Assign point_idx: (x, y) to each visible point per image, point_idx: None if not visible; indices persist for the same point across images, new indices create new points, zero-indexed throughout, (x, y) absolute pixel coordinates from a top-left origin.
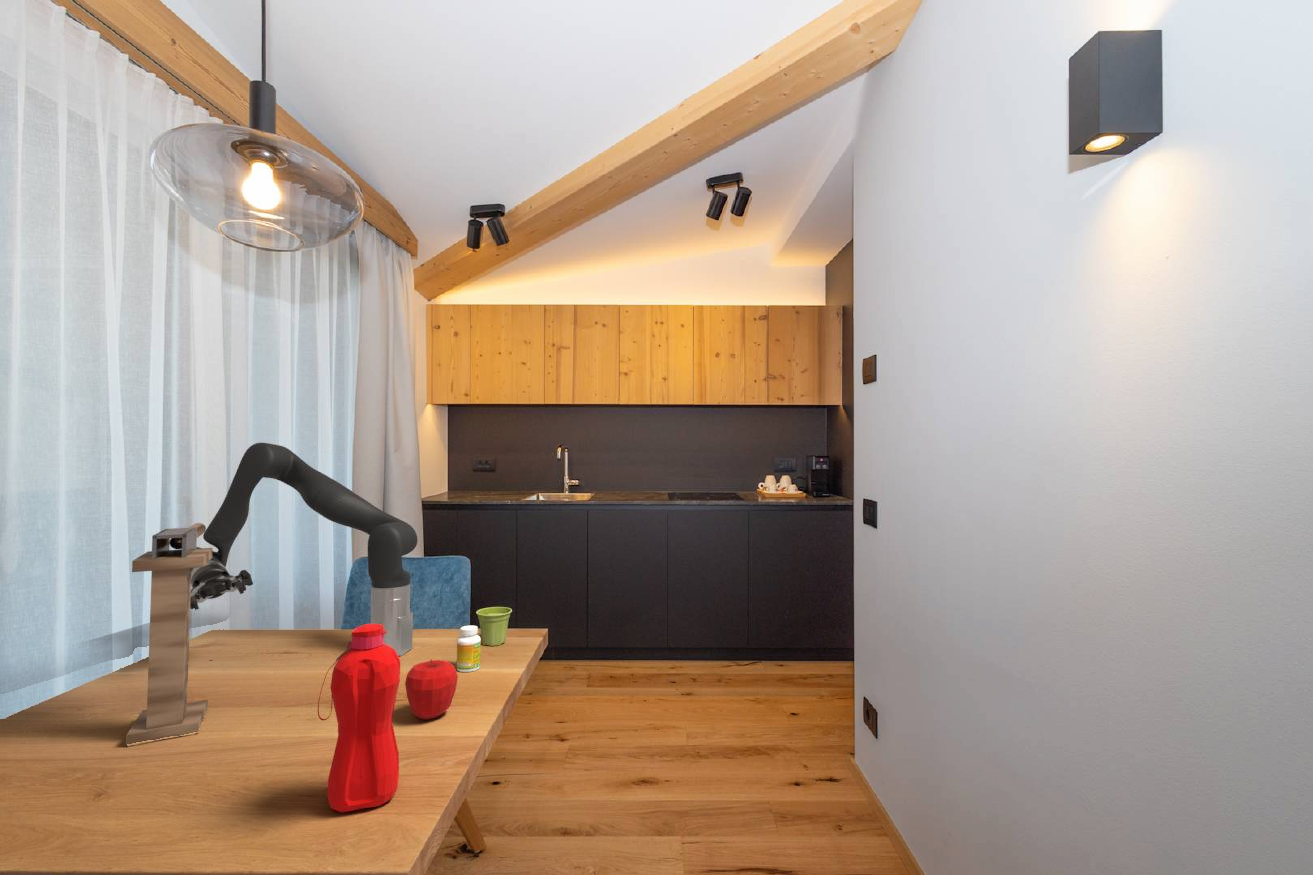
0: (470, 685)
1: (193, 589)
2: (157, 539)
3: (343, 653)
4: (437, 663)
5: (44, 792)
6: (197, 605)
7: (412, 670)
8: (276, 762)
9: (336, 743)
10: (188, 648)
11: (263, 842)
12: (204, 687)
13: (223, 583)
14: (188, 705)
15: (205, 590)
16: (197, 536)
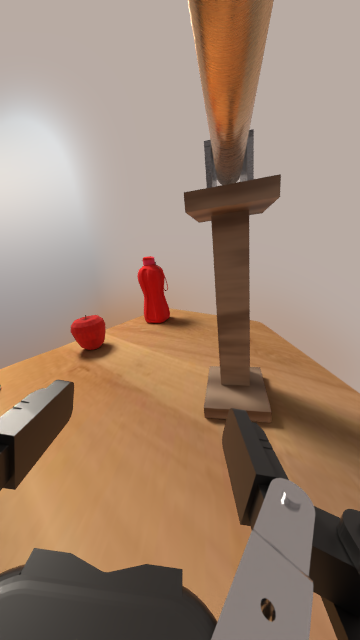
0: (35, 367)
1: (310, 604)
2: (240, 175)
3: (157, 266)
4: (81, 319)
5: (281, 348)
6: (226, 423)
7: (96, 319)
8: (174, 338)
9: (164, 297)
10: (217, 321)
11: (189, 314)
12: (212, 541)
13: (13, 569)
14: (222, 401)
15: (189, 592)
16: (207, 119)
